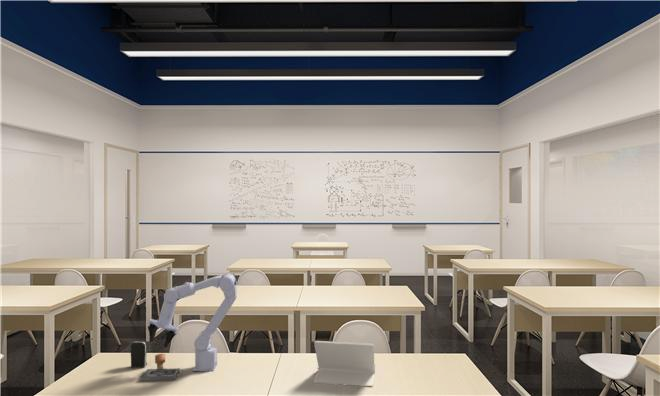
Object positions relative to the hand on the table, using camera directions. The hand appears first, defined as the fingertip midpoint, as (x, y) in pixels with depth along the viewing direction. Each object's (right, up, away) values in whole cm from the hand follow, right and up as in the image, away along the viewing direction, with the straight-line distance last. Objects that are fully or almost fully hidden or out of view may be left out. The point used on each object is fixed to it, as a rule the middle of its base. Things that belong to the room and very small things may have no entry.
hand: (158, 344), depth 187 cm
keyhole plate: (+4, -11, -8) cm, 15 cm away
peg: (+1, -12, 0) cm, 12 cm away
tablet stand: (+84, -12, -7) cm, 85 cm away
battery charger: (-10, -12, +4) cm, 16 cm away
